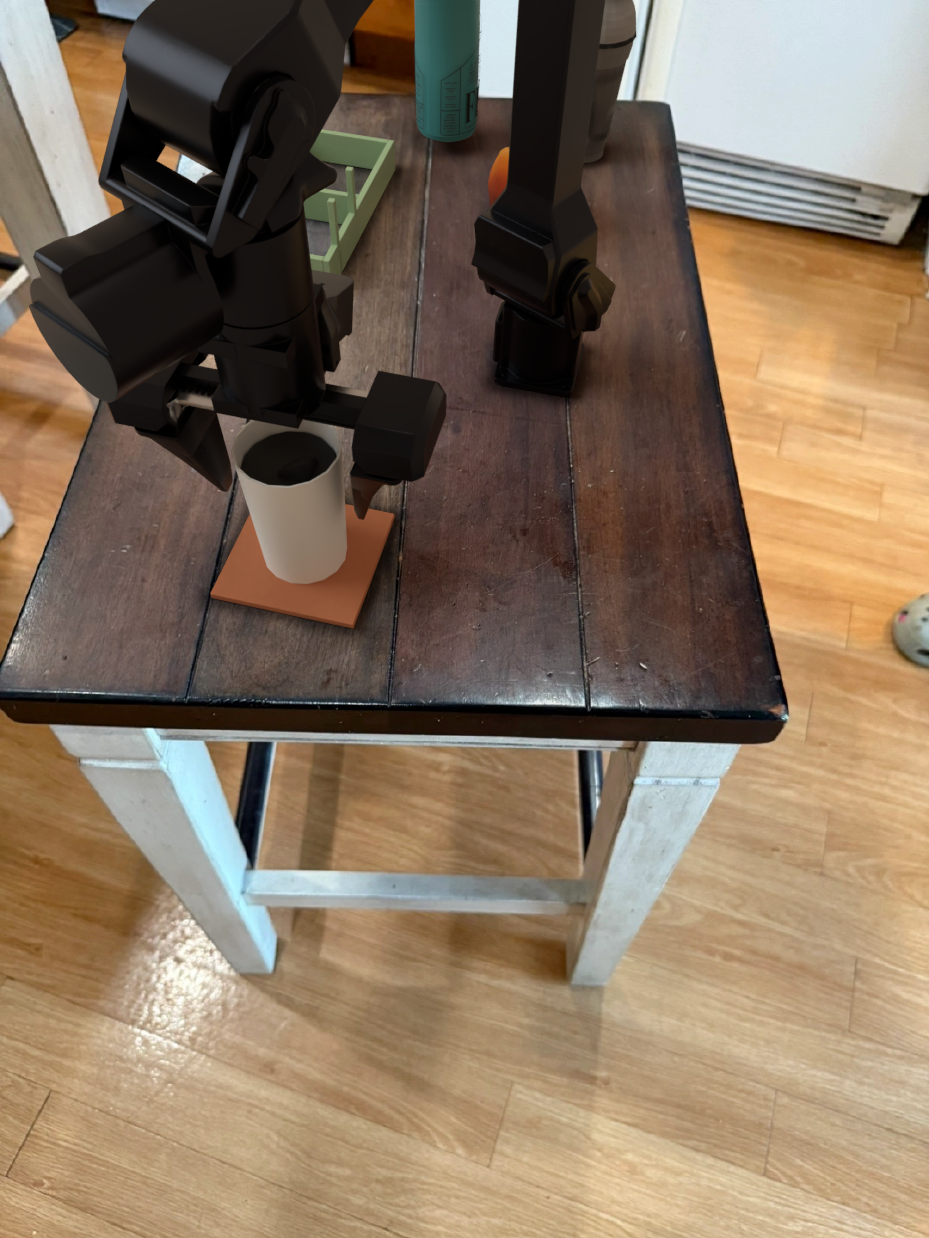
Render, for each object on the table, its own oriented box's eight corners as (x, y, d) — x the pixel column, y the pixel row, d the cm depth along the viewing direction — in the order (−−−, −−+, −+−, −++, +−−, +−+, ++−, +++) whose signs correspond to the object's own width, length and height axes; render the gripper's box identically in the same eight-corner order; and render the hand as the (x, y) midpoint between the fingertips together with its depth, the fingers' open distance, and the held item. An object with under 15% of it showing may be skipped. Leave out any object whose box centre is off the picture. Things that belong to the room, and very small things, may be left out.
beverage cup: (628, 163, 95) (670, -67, 78) (564, 176, 93) (593, -56, 76) (597, 128, 98) (630, -98, 82) (535, 139, 97) (556, -89, 80)
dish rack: (395, 170, 93) (393, 98, 87) (332, 291, 81) (324, 218, 76) (291, 153, 94) (282, 81, 88) (214, 271, 82) (198, 197, 77)
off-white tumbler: (365, 525, 66) (356, 421, 57) (335, 598, 62) (320, 498, 54) (277, 506, 66) (255, 400, 58) (242, 577, 63) (213, 475, 54)
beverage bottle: (470, 161, 94) (479, -71, 77) (407, 152, 95) (402, -80, 78) (483, 129, 98) (493, -99, 81) (421, 121, 98) (420, -108, 82)
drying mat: (394, 518, 67) (394, 513, 66) (353, 629, 61) (353, 624, 61) (263, 491, 68) (262, 486, 67) (211, 598, 62) (209, 593, 62)
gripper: (472, 233, 50) (464, 441, 63) (151, 179, 52) (207, 392, 65) (420, 365, 44) (422, 566, 57) (58, 298, 46) (139, 507, 59)
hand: (294, 500), depth 60 cm, fingers open, 9 cm apart
